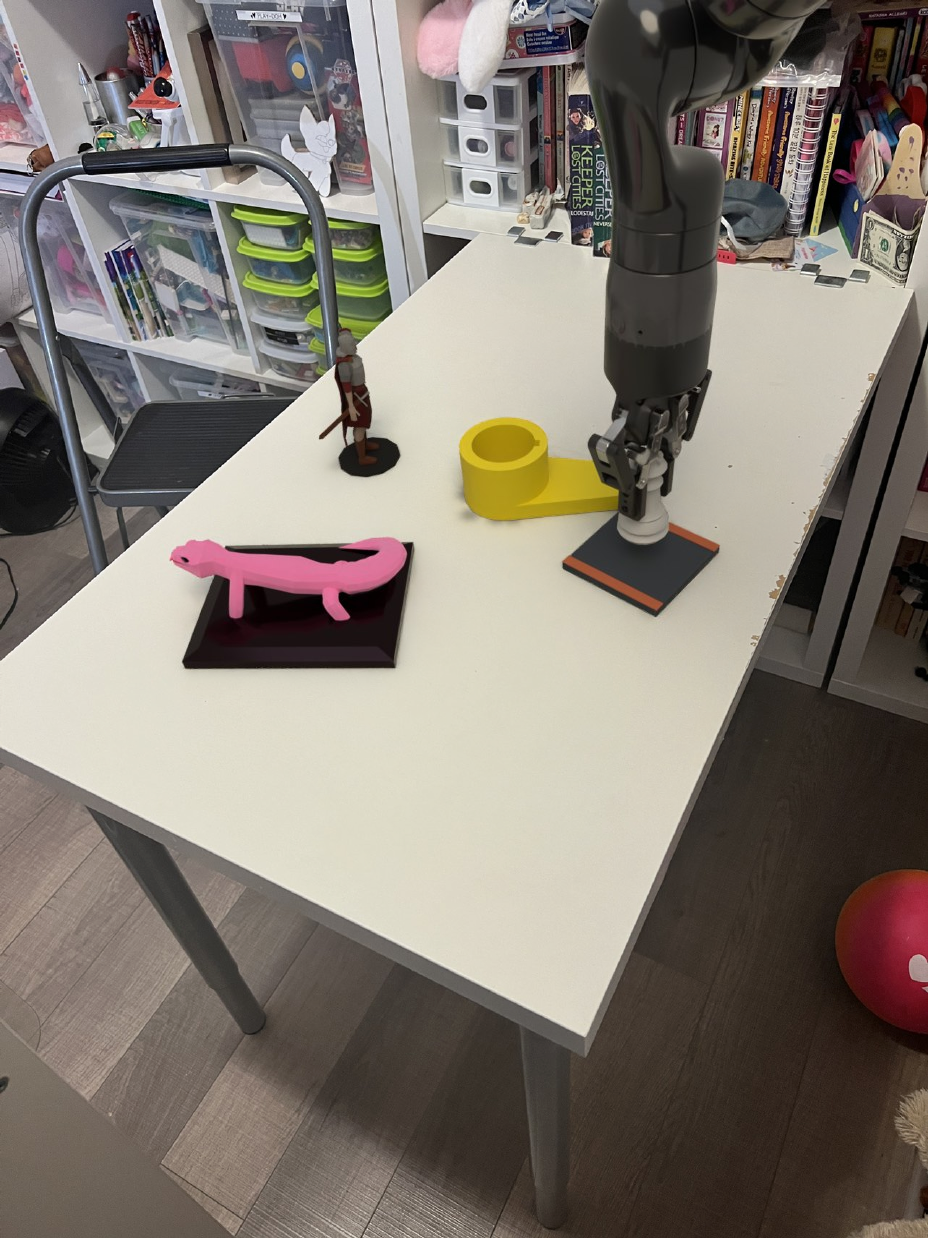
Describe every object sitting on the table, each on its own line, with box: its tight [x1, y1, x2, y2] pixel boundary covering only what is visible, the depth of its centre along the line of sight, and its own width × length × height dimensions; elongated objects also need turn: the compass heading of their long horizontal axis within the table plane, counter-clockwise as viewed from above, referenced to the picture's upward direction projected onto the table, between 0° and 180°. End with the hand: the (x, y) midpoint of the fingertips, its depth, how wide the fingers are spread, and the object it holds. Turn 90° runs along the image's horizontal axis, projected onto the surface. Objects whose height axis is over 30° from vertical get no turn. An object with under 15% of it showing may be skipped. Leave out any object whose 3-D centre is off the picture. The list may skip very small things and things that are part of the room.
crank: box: [458, 416, 619, 522], centre depth 85 cm, size 18×8×6 cm, turn 83°
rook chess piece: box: [617, 451, 670, 545], centre depth 74 cm, size 4×4×8 cm
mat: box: [561, 511, 721, 618], centre depth 79 cm, size 10×10×1 cm
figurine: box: [318, 327, 401, 478], centre depth 89 cm, size 7×7×15 cm
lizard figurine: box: [169, 536, 415, 670], centre depth 77 cm, size 15×20×7 cm
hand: (645, 502), depth 75 cm, fingers closed on rook chess piece, 3 cm apart
